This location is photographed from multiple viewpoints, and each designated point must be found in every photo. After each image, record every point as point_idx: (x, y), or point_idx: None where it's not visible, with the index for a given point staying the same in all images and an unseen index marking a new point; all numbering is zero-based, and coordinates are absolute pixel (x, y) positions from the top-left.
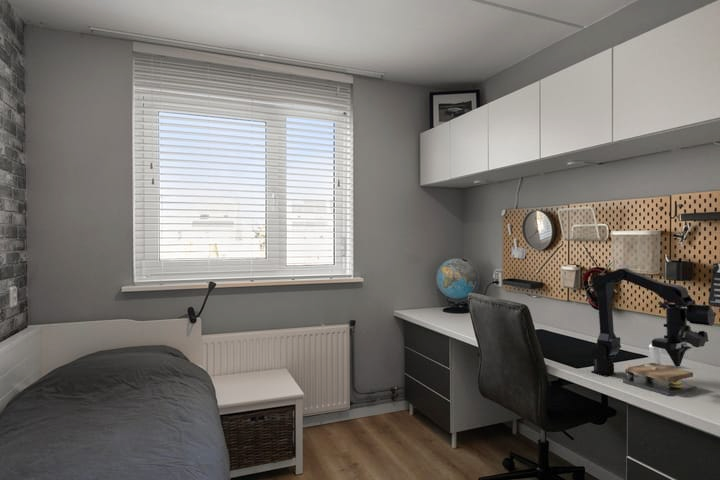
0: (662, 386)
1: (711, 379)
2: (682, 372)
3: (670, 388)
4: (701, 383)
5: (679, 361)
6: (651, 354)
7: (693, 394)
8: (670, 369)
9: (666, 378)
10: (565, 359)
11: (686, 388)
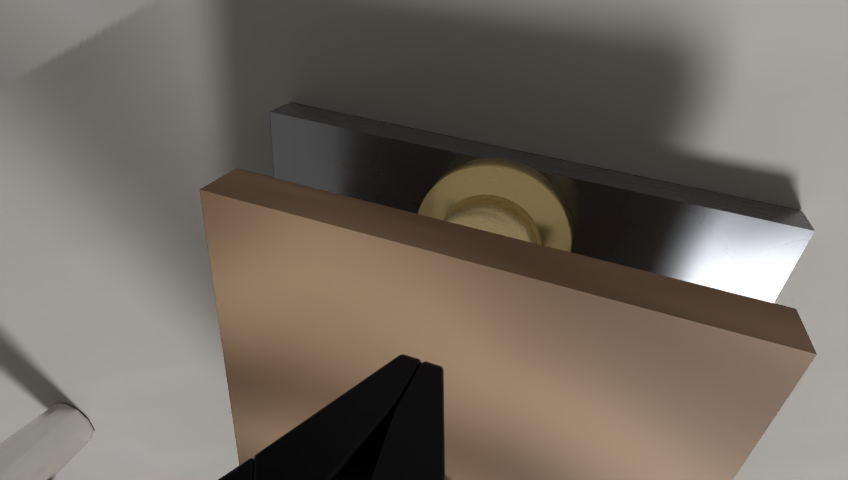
0: None
1: None
2: (316, 272)
3: (593, 251)
4: (108, 137)
5: (405, 431)
6: None
7: (487, 54)
8: (317, 384)
9: (795, 357)
10: None
11: (437, 147)
